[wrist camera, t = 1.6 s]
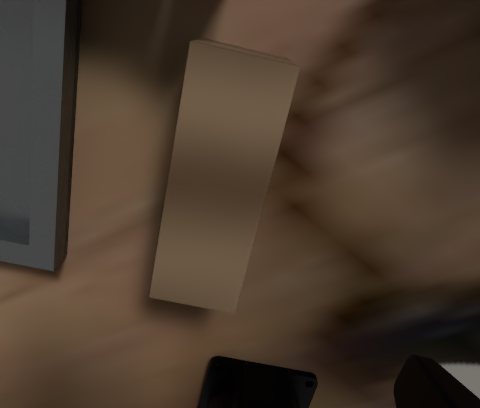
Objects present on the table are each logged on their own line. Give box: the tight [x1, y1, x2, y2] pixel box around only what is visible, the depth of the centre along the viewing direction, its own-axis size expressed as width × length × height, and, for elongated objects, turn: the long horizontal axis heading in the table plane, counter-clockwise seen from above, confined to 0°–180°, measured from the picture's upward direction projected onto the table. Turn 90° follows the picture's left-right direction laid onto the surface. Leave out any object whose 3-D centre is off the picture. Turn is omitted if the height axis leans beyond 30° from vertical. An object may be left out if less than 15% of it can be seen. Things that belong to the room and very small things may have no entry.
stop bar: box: [149, 39, 300, 314], centre depth 17 cm, size 10×4×5 cm, turn 168°
